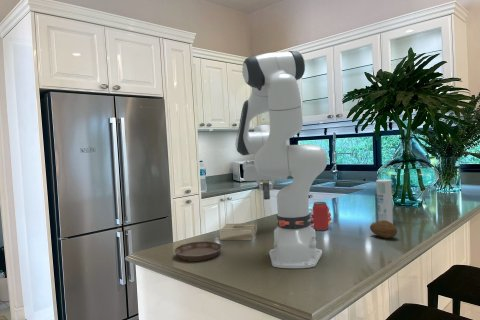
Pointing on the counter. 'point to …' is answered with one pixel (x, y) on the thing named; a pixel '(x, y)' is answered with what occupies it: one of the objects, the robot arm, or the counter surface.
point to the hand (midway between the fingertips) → (266, 190)
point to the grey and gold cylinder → (266, 189)
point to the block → (238, 231)
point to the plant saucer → (198, 251)
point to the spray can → (384, 200)
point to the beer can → (320, 216)
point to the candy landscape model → (312, 216)
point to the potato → (384, 229)
